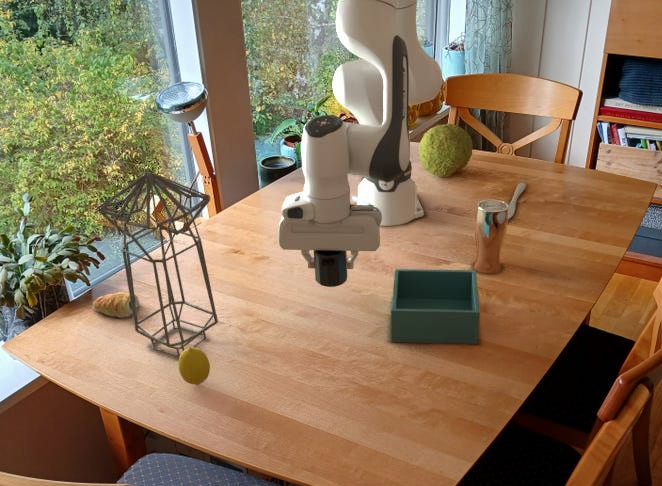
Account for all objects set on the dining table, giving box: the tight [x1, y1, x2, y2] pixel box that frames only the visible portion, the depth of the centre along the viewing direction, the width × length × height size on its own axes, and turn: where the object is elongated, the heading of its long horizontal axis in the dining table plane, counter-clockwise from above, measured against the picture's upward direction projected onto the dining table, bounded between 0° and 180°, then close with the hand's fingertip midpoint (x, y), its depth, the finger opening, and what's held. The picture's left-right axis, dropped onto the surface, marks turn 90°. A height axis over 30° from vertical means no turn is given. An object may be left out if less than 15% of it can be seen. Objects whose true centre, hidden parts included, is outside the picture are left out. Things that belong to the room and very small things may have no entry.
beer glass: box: [473, 198, 509, 275], centre depth 163 cm, size 7×7×15 cm
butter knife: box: [508, 182, 527, 220], centre depth 196 cm, size 1×27×3 cm
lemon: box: [177, 346, 211, 386], centre depth 133 cm, size 6×6×8 cm
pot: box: [313, 250, 348, 288], centre depth 150 cm, size 9×6×7 cm
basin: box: [390, 268, 481, 345], centre depth 148 cm, size 17×17×7 cm
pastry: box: [92, 291, 140, 319], centre depth 158 cm, size 9×7×4 cm
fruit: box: [418, 123, 474, 178], centre depth 212 cm, size 16×14×15 cm
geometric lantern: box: [93, 172, 219, 358], centre depth 137 cm, size 16×16×35 cm
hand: (330, 267), depth 151 cm, fingers closed on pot, 6 cm apart
